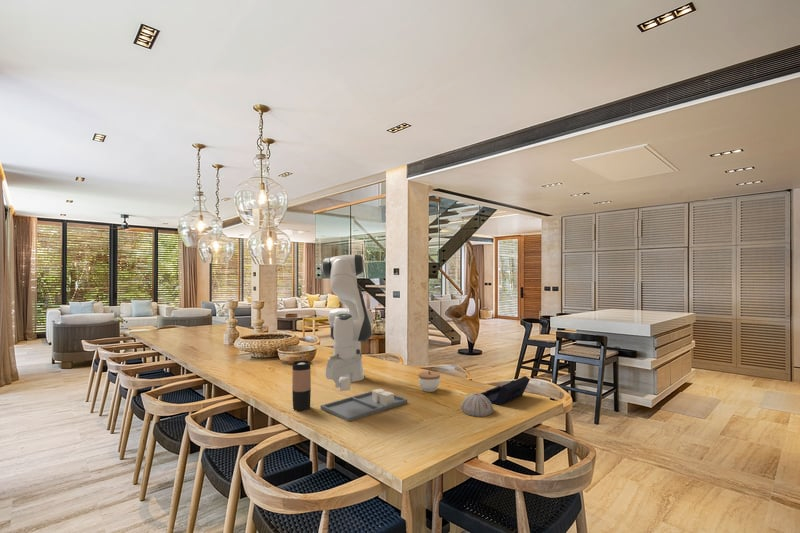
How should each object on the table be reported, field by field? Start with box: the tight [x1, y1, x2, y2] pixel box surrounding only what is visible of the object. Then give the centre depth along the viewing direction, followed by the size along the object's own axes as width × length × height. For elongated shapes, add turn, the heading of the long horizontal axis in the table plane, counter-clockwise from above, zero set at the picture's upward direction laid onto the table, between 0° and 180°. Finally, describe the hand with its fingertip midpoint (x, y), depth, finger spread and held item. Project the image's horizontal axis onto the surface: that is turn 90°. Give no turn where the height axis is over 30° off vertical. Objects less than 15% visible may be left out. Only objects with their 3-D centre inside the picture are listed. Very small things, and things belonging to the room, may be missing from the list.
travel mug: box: [291, 360, 312, 412], centre depth 171 cm, size 8×8×20 cm
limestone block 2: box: [371, 388, 386, 403], centre depth 178 cm, size 4×4×4 cm
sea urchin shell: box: [460, 393, 494, 417], centre depth 165 cm, size 13×14×8 cm
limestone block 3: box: [380, 390, 395, 406], centre depth 174 cm, size 4×4×4 cm
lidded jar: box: [417, 370, 441, 393], centre depth 197 cm, size 11×11×9 cm
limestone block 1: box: [337, 377, 351, 392], centre depth 170 cm, size 4×4×4 cm
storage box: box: [479, 375, 531, 407], centre depth 183 cm, size 21×16×10 cm
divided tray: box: [320, 390, 408, 423], centre depth 173 cm, size 20×32×2 cm, turn 133°
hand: (343, 384), depth 170 cm, fingers closed on limestone block 1, 6 cm apart
